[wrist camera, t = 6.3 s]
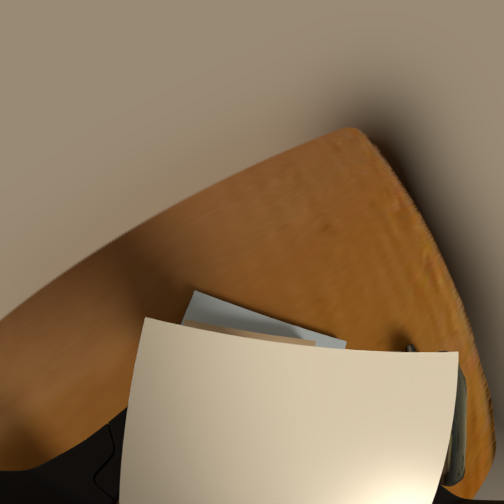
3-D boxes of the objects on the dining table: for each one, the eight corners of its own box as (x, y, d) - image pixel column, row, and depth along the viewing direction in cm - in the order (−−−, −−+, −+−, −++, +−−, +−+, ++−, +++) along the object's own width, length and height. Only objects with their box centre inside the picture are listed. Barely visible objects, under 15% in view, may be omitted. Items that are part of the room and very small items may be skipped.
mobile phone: (470, 476, 11) (459, 328, 16) (448, 495, 10) (436, 341, 16) (438, 467, 15) (422, 338, 21) (416, 482, 15) (399, 348, 20)
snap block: (270, 438, 12) (398, 573, 1) (197, 428, 12) (121, 577, 1) (281, 371, 14) (458, 351, 3) (208, 360, 14) (145, 316, 3)
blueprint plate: (341, 342, 20) (346, 341, 19) (294, 480, 15) (297, 485, 14) (196, 293, 21) (194, 290, 20) (142, 433, 16) (138, 436, 15)
